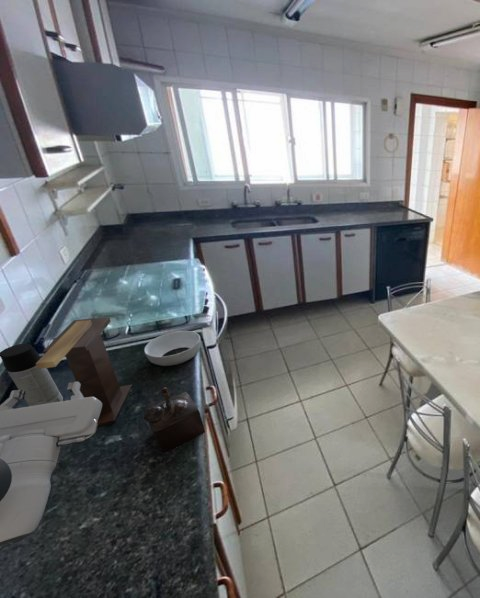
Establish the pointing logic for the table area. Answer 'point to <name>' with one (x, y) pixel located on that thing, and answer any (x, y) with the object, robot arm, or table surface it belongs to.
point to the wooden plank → (64, 345)
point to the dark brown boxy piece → (174, 421)
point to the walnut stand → (96, 370)
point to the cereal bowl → (173, 347)
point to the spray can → (30, 375)
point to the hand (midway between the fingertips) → (47, 386)
